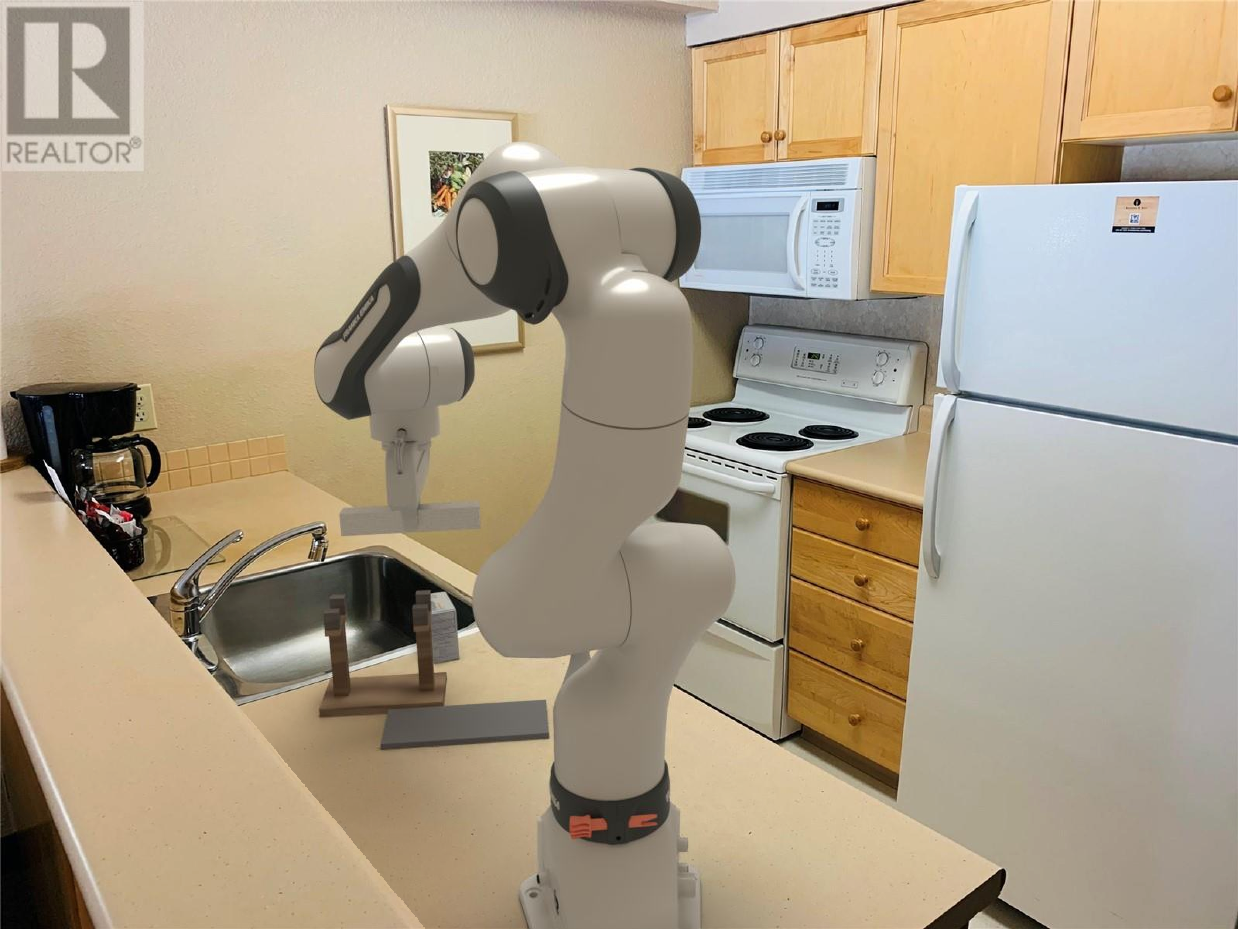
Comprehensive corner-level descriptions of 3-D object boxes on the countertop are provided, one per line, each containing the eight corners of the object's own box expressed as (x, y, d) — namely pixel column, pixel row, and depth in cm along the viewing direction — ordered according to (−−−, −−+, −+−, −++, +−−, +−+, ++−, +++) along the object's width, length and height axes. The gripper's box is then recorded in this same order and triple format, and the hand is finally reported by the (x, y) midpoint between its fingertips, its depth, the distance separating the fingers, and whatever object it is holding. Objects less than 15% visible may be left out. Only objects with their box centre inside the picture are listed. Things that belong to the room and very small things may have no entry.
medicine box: (460, 660, 150) (457, 608, 148) (431, 665, 148) (428, 613, 146) (449, 639, 157) (446, 590, 155) (422, 644, 155) (419, 594, 153)
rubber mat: (549, 738, 128) (548, 732, 127) (380, 749, 125) (380, 744, 125) (546, 704, 136) (546, 699, 136) (388, 714, 134) (388, 709, 134)
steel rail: (480, 528, 127) (479, 506, 126) (341, 536, 125) (339, 514, 124) (480, 522, 130) (479, 500, 129) (344, 529, 128) (342, 507, 127)
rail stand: (443, 709, 135) (437, 611, 131) (319, 717, 133) (309, 617, 129) (446, 679, 144) (441, 586, 140) (330, 686, 142) (322, 592, 138)
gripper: (423, 437, 114) (431, 547, 117) (434, 408, 134) (440, 503, 137) (369, 440, 113) (378, 550, 117) (388, 410, 133) (396, 505, 136)
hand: (412, 524), depth 127 cm, fingers closed on steel rail, 3 cm apart
